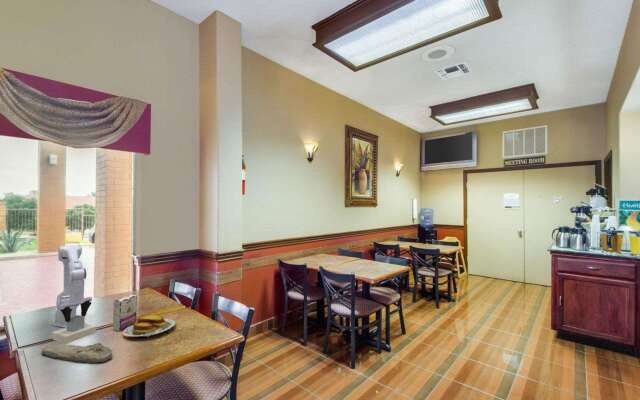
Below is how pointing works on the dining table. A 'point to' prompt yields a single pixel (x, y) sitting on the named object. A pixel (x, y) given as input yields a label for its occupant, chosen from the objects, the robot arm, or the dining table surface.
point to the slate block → (76, 323)
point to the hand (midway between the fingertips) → (75, 319)
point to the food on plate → (148, 326)
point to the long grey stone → (78, 352)
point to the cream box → (73, 334)
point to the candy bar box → (124, 312)
